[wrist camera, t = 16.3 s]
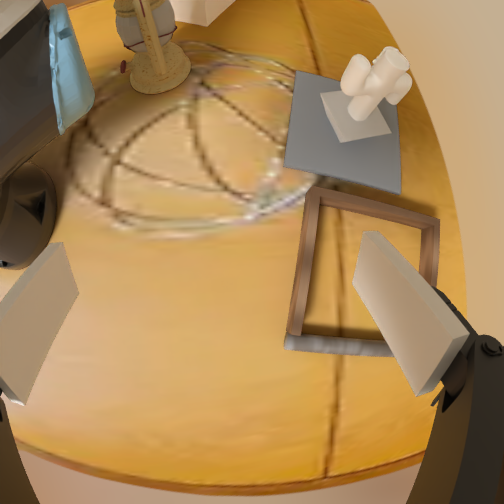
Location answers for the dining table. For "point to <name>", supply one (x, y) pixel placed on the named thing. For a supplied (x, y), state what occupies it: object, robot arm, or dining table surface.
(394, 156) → the slate pad
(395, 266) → the robot arm
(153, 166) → the dining table surface
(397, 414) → the dining table surface
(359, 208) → the walnut holder
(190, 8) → the milk
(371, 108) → the figurine
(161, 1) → the lantern
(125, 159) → the dining table surface
